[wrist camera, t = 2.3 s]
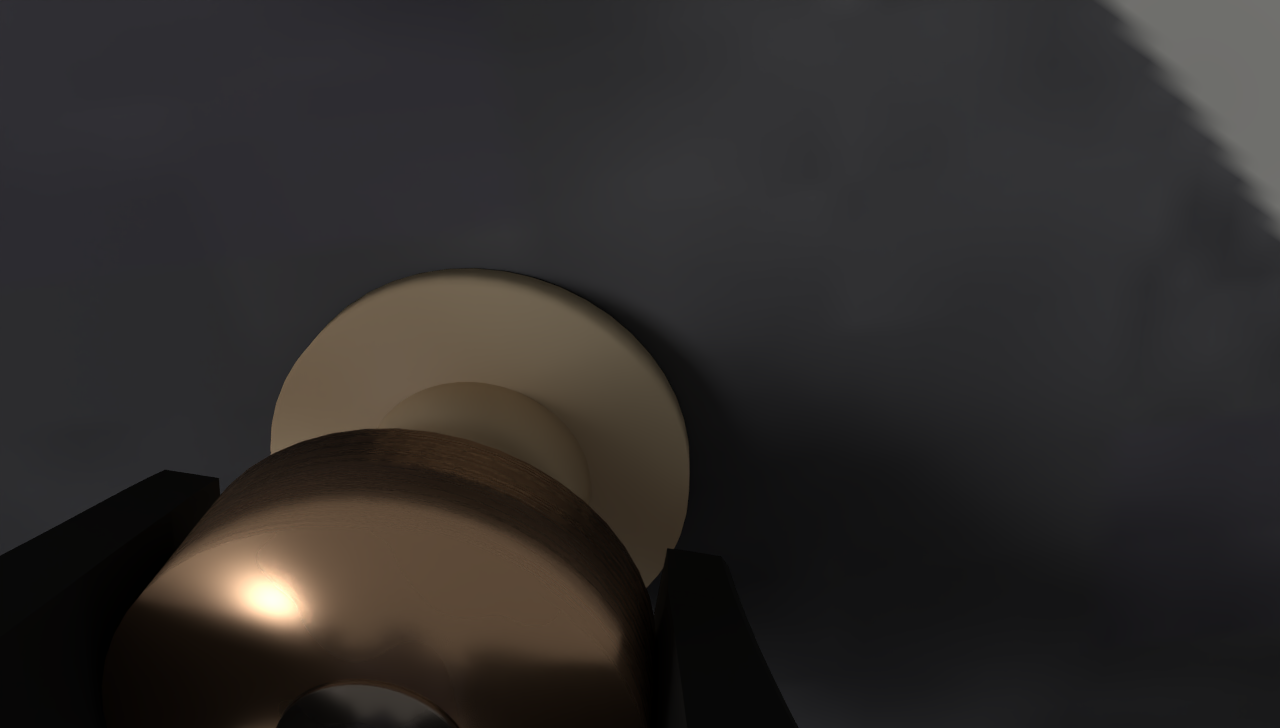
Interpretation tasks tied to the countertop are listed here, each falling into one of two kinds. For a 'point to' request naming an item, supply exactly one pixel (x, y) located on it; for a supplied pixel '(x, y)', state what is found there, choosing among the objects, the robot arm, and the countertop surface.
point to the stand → (506, 391)
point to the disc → (389, 600)
